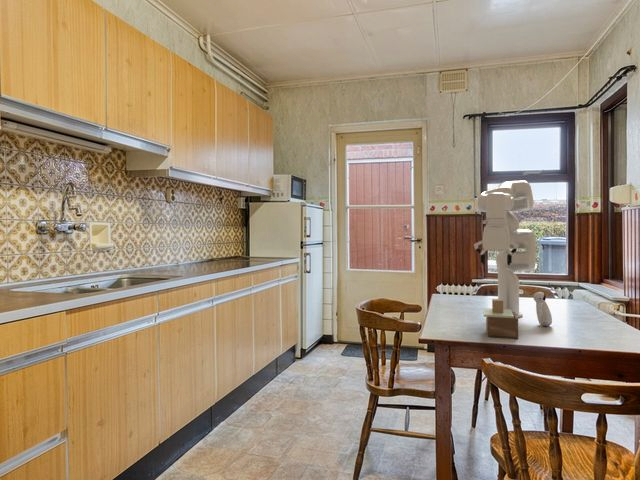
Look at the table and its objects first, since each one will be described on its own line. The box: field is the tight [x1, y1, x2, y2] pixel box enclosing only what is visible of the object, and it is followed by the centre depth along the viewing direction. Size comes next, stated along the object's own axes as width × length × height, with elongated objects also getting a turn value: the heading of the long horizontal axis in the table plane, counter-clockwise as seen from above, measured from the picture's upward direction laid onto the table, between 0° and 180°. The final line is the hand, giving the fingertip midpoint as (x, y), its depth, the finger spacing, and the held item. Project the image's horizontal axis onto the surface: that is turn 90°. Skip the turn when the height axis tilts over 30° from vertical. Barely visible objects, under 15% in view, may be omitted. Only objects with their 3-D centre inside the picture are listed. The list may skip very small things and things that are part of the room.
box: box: [485, 312, 519, 340], centre depth 175 cm, size 14×11×8 cm
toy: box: [533, 291, 553, 327], centre depth 188 cm, size 11×7×15 cm, turn 168°
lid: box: [482, 298, 514, 318], centre depth 176 cm, size 14×11×6 cm
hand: (495, 264), depth 176 cm, fingers open, 9 cm apart
